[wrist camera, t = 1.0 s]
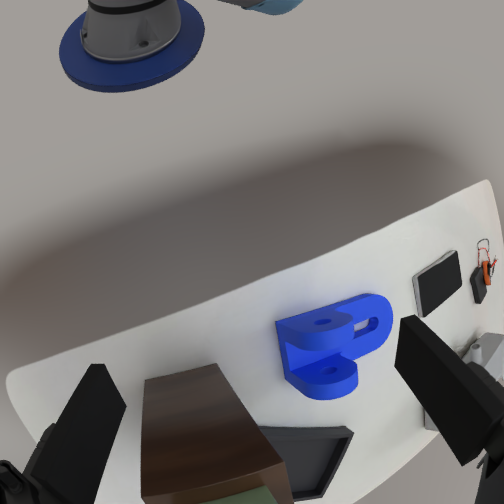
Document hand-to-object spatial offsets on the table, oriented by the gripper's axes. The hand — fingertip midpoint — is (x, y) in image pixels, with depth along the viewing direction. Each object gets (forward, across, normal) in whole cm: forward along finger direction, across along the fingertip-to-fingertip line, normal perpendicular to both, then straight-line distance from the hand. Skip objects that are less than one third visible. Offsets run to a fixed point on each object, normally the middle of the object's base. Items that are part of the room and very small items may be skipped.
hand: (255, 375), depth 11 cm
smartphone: (+31, +35, -16) cm, 49 cm away
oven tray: (+15, 0, -33) cm, 36 cm away
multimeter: (+38, +56, -18) cm, 70 cm away
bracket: (+24, +11, -15) cm, 30 cm away
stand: (+16, -10, -17) cm, 25 cm away
